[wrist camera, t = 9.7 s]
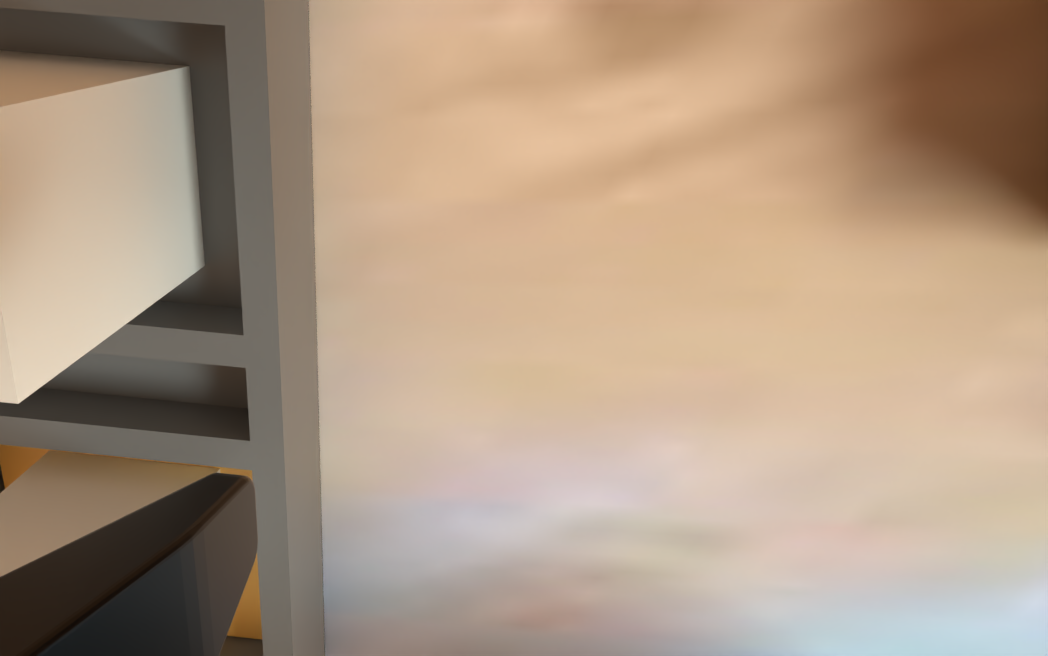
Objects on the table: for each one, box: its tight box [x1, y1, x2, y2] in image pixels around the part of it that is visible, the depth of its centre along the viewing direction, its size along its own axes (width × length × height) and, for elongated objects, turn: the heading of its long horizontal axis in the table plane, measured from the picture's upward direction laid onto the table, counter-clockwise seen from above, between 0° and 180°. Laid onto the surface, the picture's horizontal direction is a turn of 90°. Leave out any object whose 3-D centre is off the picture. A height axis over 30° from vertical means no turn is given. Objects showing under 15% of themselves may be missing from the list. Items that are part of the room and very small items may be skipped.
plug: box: [0, 450, 220, 577], centre depth 19 cm, size 4×4×7 cm
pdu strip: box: [0, 0, 325, 656], centre depth 18 cm, size 20×9×8 cm, turn 176°
